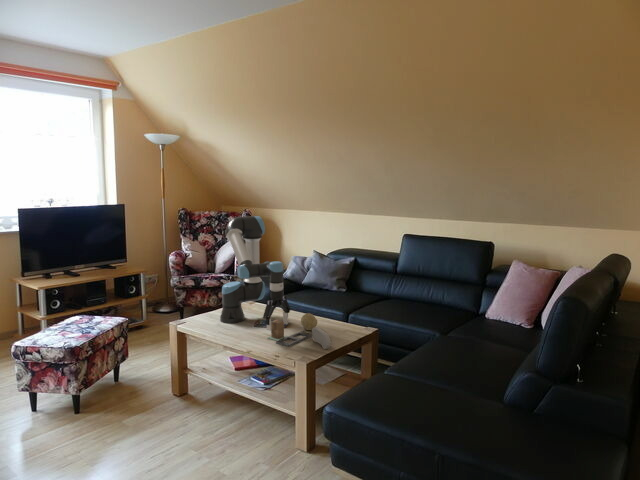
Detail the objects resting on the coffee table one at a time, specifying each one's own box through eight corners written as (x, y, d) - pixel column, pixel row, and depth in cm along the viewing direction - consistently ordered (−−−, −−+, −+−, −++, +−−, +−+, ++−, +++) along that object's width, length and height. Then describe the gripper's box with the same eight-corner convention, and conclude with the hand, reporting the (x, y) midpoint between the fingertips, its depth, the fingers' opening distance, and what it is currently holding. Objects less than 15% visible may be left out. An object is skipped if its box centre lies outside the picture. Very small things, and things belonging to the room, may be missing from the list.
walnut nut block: (271, 337, 269) (271, 321, 268) (277, 334, 273) (277, 319, 272) (278, 339, 266) (277, 323, 265) (284, 336, 270) (283, 321, 269)
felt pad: (267, 338, 269) (267, 337, 269) (277, 334, 275) (277, 333, 275) (278, 341, 264) (278, 340, 264) (287, 337, 270) (287, 336, 270)
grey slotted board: (275, 343, 261) (275, 341, 261) (301, 332, 278) (301, 330, 278) (288, 346, 256) (288, 345, 255) (313, 335, 273) (313, 333, 273)
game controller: (330, 350, 250) (330, 335, 249) (326, 351, 250) (326, 335, 248) (315, 339, 268) (315, 324, 267) (311, 339, 267) (311, 325, 266)
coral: (316, 314, 290) (318, 312, 281) (315, 331, 288) (317, 329, 278) (300, 313, 290) (301, 311, 280) (300, 330, 287) (301, 329, 277)
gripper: (266, 295, 254) (266, 334, 256) (296, 286, 273) (296, 322, 276) (255, 293, 258) (256, 331, 261) (286, 284, 278) (286, 320, 281)
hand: (277, 327), depth 269 cm, fingers open, 13 cm apart
